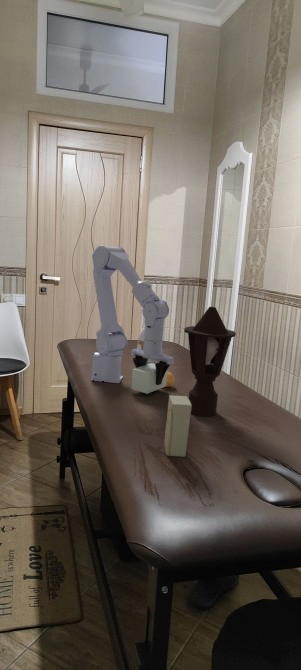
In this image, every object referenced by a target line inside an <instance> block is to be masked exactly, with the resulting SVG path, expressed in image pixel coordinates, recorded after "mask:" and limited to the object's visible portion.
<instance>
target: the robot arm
mask: <svg viewBox="0 0 301 670" xmlns="http://www.w3.org/2000/svg"><path fill="white" fill-rule="evenodd" d="M91 258H92V264H93V269H92V276H93V281H94V288H95V289H94V290H95V295H96V302H97V307H98V312H99V320H100V327H99V328H98V330H97V331H96V333H95V334H96V340H95V347H96V350H97V351H98V352H96V351H95V352H94V354H93V357H92V364H91V365H92V367H91V379H90V380H91V381H93V380H94V382H102V381H104V383H111V384H112V383H113V384H121V383H120V382H121V381H122V379H123V377H124V376H123V375H121V372H122V357H123V354H124V351H126V349H127V348H128V342H129V341H128V337H127V336H126V334H125V330H124V328H123V327H122V326H121V325H120V324H119V323H118V317H117V312H116V306H115V298H114V297H115V296H114V291H113V285H112V278H111V277H112V276H113V274H114V273H115V272H117V270H118V271H119V272H120V273H121V275H122V276H123V277H124V278H125V280H126V281H127V282H128V283H129V285H130V286H131V287H132V289H131V293H132V295H133V297H135V299H136V300H137V302H138V303H139V305H140V307H142V309H141V313H142V316H143V318H144V326H145V335H144V347H143V350H138V349H137V348H134V349H131V355H130V356H133V358H132V361H133V364H134V366H135V368H138V367H141V366H144V365H146V363H147V360H148V359H151V360H155V367H156V385H160V384H161V383H162V380H163V377H164V375H165V373H166V371H167V372H168V369H169V367H170V366H171V365H173V364H174V357H173V356H169V355H166V354H164V353H163V341H164V328H165V318H167V317H168V316H169V312H170V308H169V305H168V303H167V301H165V300H164V299H161V298H160V296H158V295H157V294H156V293H155V291H154V290H153V289H152V285H151V284H150V283H149V282H147V281H142V279H141V278H140V276H139V274H138V272H137V271H136V269H135V268H134V266H133V264H132V263H131V261H130V260H129V259H130V258H129V253H127V252H126V250H125V248H123V247H121V246H106V245H99V246H97V247H96V248H95V250H94V251H93V253H92V255H91Z"/></svg>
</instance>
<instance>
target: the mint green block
mask: <svg viewBox="0 0 301 670" xmlns="http://www.w3.org/2000/svg"><path fill="white" fill-rule="evenodd" d="M167 372H168V370H167V371H166V373H165V375H164V377H163V380H162V383H161V384H160V385H156V367H155V364H154V363H151V364H147V365H144V366H141V367H138V368H136V367H135V368H132V376H131V390H133V391H135V392H140V393H144V394H150V393H152V392H154V391H158V390H160V389H162V388H166V387H165V386H166V380H167Z"/></svg>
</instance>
